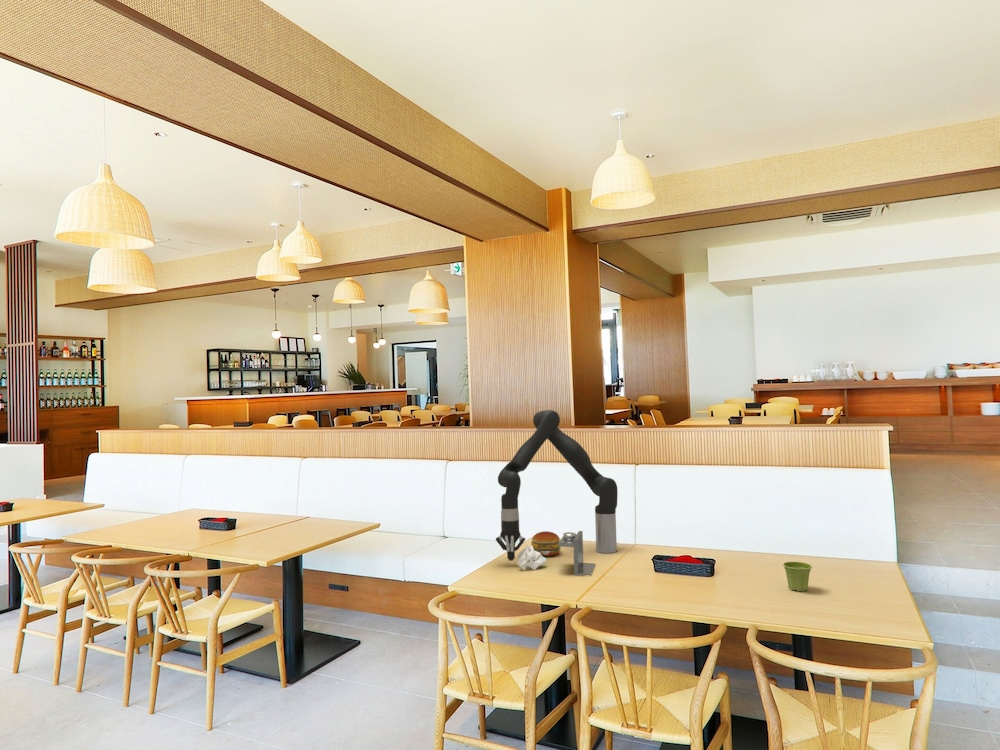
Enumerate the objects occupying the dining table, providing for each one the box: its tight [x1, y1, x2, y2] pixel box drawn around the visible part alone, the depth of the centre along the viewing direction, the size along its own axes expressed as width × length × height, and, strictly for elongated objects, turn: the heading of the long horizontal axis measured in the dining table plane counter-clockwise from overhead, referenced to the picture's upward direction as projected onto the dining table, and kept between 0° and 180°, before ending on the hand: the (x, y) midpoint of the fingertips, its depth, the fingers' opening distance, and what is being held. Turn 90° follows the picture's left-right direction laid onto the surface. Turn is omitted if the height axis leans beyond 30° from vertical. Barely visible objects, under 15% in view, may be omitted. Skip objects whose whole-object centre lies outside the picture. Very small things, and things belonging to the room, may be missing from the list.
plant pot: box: [782, 561, 813, 592], centre depth 230 cm, size 9×9×9 cm
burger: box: [530, 530, 561, 557], centre depth 288 cm, size 13×14×10 cm
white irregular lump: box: [516, 544, 547, 571], centre depth 267 cm, size 12×9×10 cm
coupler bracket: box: [559, 530, 596, 577], centre depth 262 cm, size 16×12×14 cm
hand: (511, 560), depth 270 cm, fingers closed
